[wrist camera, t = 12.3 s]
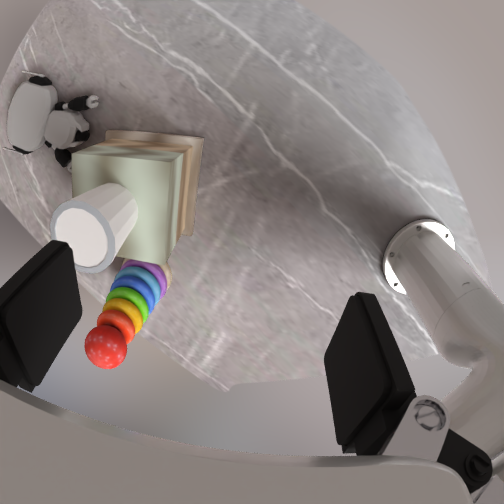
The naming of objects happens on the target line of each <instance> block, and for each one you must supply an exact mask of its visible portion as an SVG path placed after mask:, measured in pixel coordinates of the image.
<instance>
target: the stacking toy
mask: <svg viewBox="0 0 504 504" xmlns="http://www.w3.org/2000/svg"><path fill="white" fill-rule="evenodd" d="M171 280H172V273H171V269H170V267H169V265H168V263H167V262H166V263H165V265H159V264H154V263H149V262H143V261H138V260H133V259H127V258H125V259H124V261H123V263H122V267H121V269H120V271H119V273H118V274H117V275H116V277H115V280H114V283H113V284H112V286H111V289H110V293H109V294H108V296H107V299H106V303H105V305H104V307H103V311H102V313H101V314H100V315H99V317H98V320H97V327H95V328H93V329H92V330H91V331H90V332H89V333H88V335H87V337H86V339H85V352H86V354H87V357H88V358H89V360H90V361H91V362H92V363H93V364H94V365H96V366H98V367H100V368H104V369H112V368H115V367H117V366H119V365H120V364H121V363H122V362H123V360H124V359H125V356H126V353H127V344H128V343H130V342H131V341H132V340H133V338H134V336H135V334H136V333H137V332H139V331H140V330H141V328H142V326H143V323H144V322H145V321H146V320H147V318H148V315H149V314H150V313H151V312H152V310H153V309H154V306H155V305H156V304H157V303H158V301H159V300H160V299H161V298H162V297H163V296H164V295H165V293H166V291H167V289H168V288H169V286H170V284H171Z"/></svg>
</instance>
